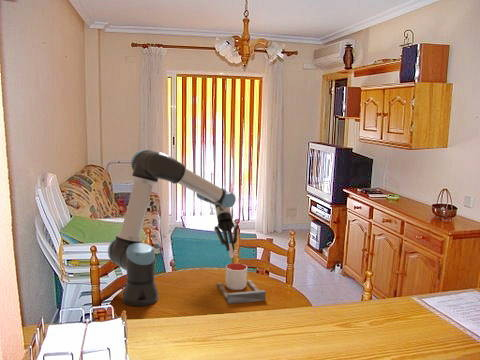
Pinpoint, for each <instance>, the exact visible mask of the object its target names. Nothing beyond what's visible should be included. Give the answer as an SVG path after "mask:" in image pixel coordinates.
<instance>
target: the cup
mask: <svg viewBox="0 0 480 360" xmlns="http://www.w3.org/2000/svg"><path fill="white" fill-rule="evenodd" d="M247 280H248V266H247V265H246V264H243V263H239V262H233V263H229V264H227V265H225V286H226V288H227V289H229V290H232V291H241V290H243V289H245V288H246V287H247V285H248V284H247Z"/></svg>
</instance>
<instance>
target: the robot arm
mask: <svg viewBox="0 0 480 360" xmlns="http://www.w3.org/2000/svg"><path fill="white" fill-rule="evenodd" d="M130 165H131V166H130V167H131V169H132V176H131V177H132V179H133V181H134V182H133V185H132V189H131V192H130V197H129V200H128V204H127V208H126V211H125V215H124V219H123V223H122V226H121V231H120V232H119V233H117V234H116V235H115V239H113V240H112V241H110V244H109V246H108V249H107V256H108V259H109V260H110V261H111V262H112V263H113V264H114V265H116V266H118V267H119V268H121V269H123V270H125V271H126V284H125V286H124V290H123V293H122V296H121V297H122V302H123V303H124V304H125V305H128V306H132V307H145V306H149V305H150V306H151V305H152V304H155V303H156V302H157V301H158V299H159V291H158V289H157V286H156V282H155V263H156V261H155V260H156V256H155V249H154V247H153V246H151V245H150V244H148V243H143V242H142V241H143V239H142V237H141V233H142V229H143V225H144V223H145V222H144V221H145V217H146V214H147V210H148V206H149V202H150V197H151V194H152V190H153V186H154V185H156V184H157V183H158V181H159V180H163V181H167V182H170V183H172V184H179V185H180V186H182V187H184V188H187V189H189V190H190V191H193V192H194V193H196V197H197V199H199V200H201V201H204V202H207V203H209V204H211V205H214V206H215V207H214V209H215V211H216V218H217V226H214V230H213V231H214V232H215V233H216V234H217V237H218V240H219V241H220V244H221V245H222V246H223V245H224V247H225V249H226V252H228V255H229V258H230V259H232V258H234V255H235V254H234V251H235V244H236V243H237V241H238V229H239V226H240V225H235V224H234V221H233V217H232V216H233V215H232V212H231V208H232V207H233V206H234V205H235V203H236V200H237V199H236V195H235V194H234V193H232V192H230V191H227V190H226V189H225V188H223V187H219V186H218V185H216V184H214V183H213V182H210V181H209V180H207V179H206V178H204V177H202V176H200V175H199V174H196V173H194V172H193V171H191V170H189V169H188V168H186V165H185V164H184V163H181V161H179V160H176V159H175V158H174V157H173V156H170V155H169V154H167V153H164V152H161V151H154V150H152V149H151V150H150V149H146V150H145V149H142V150H139V151H138V152H136V153H135V154H134V155H133V156H132V158H131V162H130ZM232 230H233V233H232ZM221 231H222V232H221Z"/></svg>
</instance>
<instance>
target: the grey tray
mask: <svg viewBox="0 0 480 360" xmlns="http://www.w3.org/2000/svg"><path fill="white" fill-rule="evenodd" d="M247 285H248V286H249V288H250V289H251V290H250V291H240V292H239V291H238V292H231V293H230V292H228V290H227V289H226V288H225V286H224V284H223V283H222V282H217V283H216V286H217V288H218V290H219V291H220V293H221V295H222V296H223V298H224V299H225V301H226V303H227V304H228V305H233V304H242V303H255V302H261V301H263V302H264V301H266V296H267V295H266V294H267V292H266V291H265V290H264V289H261V290H260V289H259V288H258V287H257V285H256V284H255V283H254V281H252V279H247Z"/></svg>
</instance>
